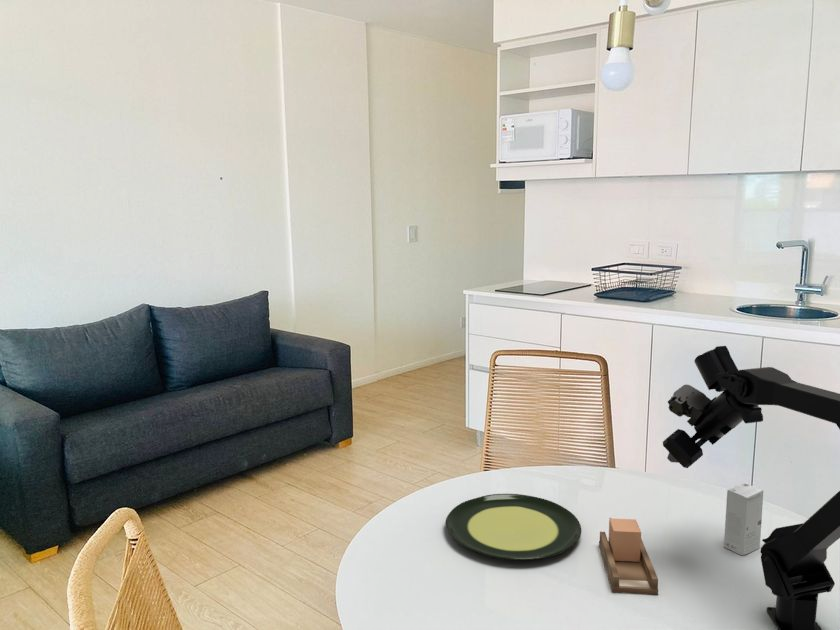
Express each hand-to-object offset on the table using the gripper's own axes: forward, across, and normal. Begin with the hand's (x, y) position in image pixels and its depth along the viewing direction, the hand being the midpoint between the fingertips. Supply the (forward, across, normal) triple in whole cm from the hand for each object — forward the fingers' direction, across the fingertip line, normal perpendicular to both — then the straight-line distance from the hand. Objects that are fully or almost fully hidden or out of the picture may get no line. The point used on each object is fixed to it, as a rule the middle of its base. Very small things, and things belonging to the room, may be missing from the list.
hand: (683, 448), depth 132 cm
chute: (+8, +23, +10) cm, 26 cm away
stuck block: (+10, +21, +8) cm, 24 cm away
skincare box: (+9, 0, +21) cm, 23 cm away
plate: (+22, +31, -9) cm, 39 cm away
